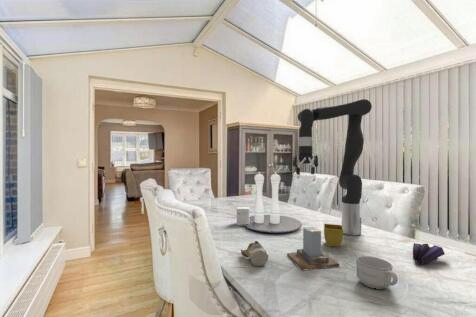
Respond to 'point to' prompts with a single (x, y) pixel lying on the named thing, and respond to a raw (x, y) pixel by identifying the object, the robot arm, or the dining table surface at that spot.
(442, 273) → the dining table surface
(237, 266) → the dining table surface
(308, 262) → the keyed seat
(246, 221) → the small box
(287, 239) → the dining table surface
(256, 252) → the ceramic sculpture
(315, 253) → the keyed plug
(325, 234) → the flower pot
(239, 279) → the dining table surface
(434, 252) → the crystal
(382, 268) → the teacup
